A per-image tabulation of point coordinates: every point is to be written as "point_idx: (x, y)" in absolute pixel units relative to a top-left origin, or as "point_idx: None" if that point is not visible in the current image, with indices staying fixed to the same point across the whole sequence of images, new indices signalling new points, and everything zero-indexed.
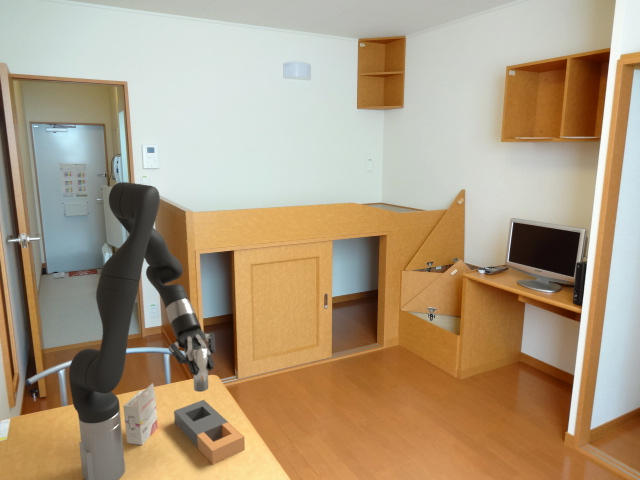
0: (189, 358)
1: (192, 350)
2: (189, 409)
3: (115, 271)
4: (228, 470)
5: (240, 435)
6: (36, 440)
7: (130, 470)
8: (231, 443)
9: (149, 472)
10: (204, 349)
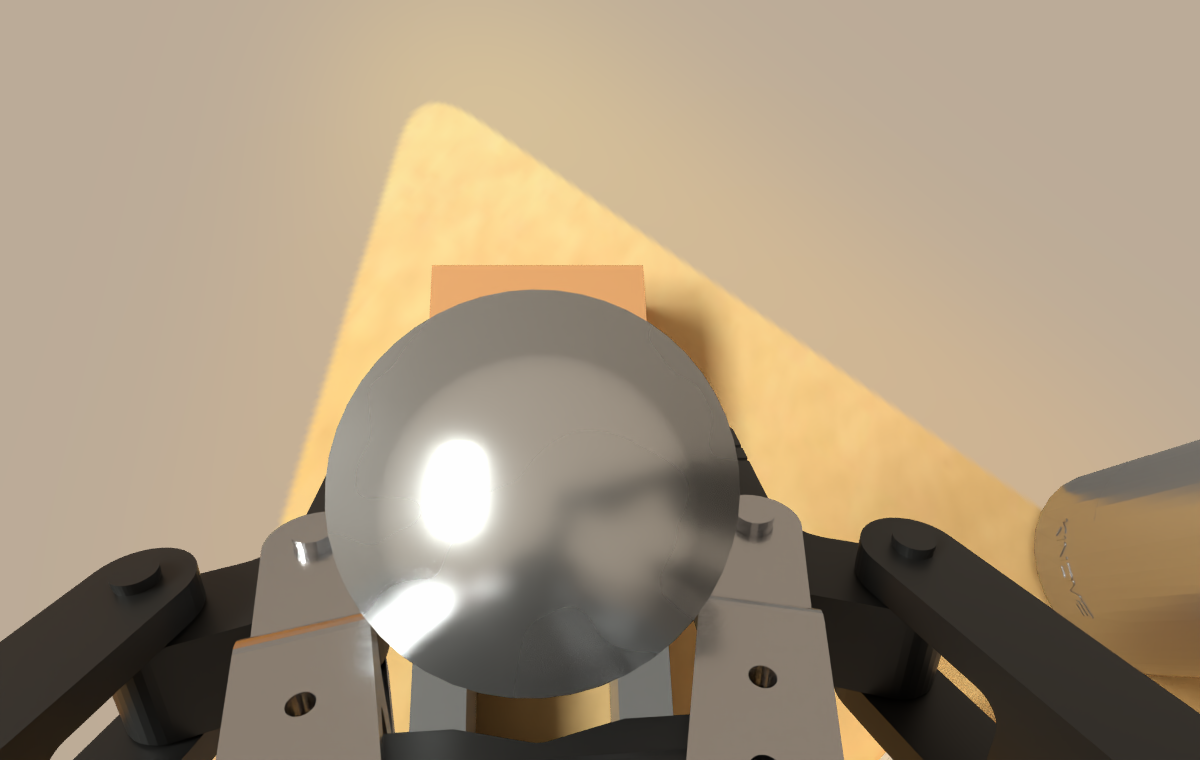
0: (780, 524)
1: (730, 534)
2: None
3: None
4: (591, 228)
5: (444, 286)
6: None
7: (1005, 517)
8: (521, 268)
9: (920, 441)
10: (456, 356)
